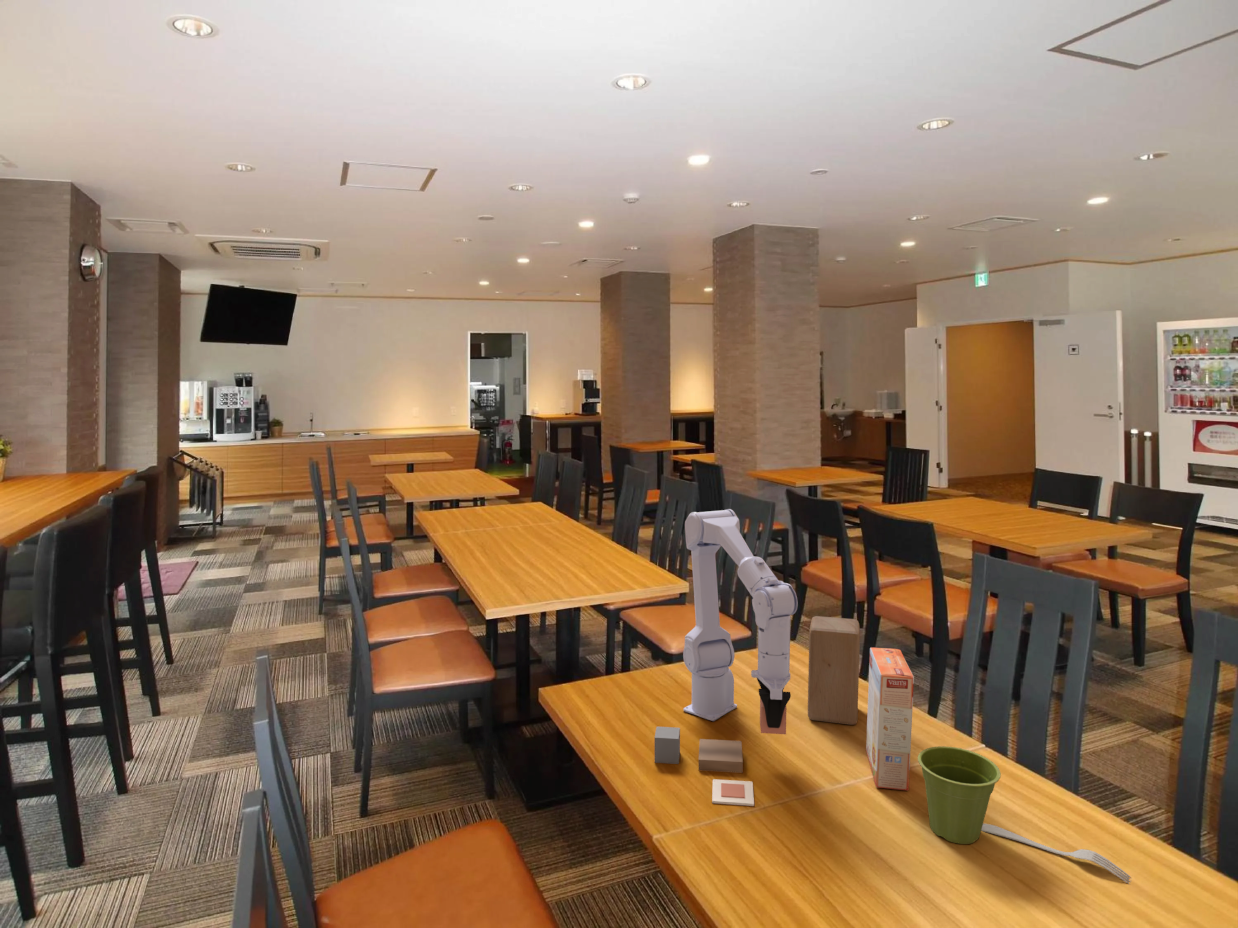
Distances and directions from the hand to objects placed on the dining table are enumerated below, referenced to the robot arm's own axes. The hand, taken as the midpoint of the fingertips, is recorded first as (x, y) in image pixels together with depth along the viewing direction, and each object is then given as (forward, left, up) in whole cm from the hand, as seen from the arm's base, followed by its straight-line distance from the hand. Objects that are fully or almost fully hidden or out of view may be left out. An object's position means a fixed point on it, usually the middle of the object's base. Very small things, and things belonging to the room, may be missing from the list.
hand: (772, 720), depth 139 cm
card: (+13, 0, -8) cm, 16 cm away
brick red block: (0, 0, -1) cm, 1 cm away
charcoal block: (+11, -16, -8) cm, 21 cm away
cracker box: (-12, +17, -9) cm, 22 cm away
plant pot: (0, +33, -9) cm, 34 cm away
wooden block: (-27, -1, -9) cm, 28 cm away
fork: (-5, +45, -9) cm, 47 cm away
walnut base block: (+5, -8, -9) cm, 13 cm away
